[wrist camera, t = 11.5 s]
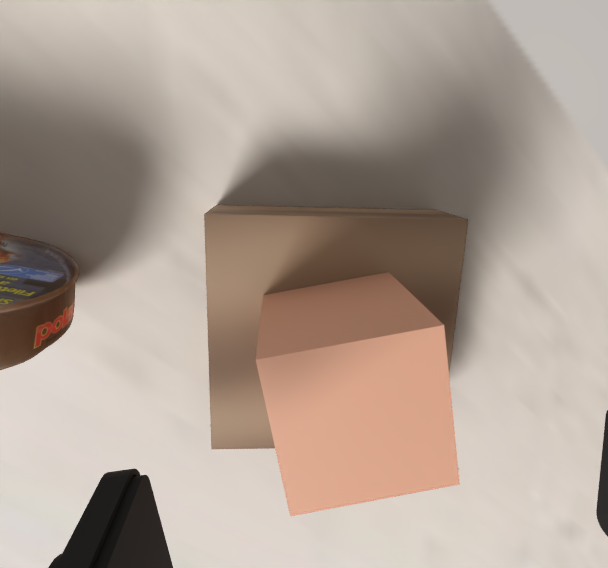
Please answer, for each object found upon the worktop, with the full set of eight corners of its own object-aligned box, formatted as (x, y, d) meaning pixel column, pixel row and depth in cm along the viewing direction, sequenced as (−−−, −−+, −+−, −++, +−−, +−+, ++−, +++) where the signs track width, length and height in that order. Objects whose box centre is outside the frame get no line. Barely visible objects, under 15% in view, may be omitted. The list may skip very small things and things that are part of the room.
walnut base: (217, 204, 20) (204, 214, 16) (432, 208, 21) (468, 219, 17) (222, 400, 23) (211, 448, 19) (412, 399, 24) (439, 445, 20)
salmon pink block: (263, 295, 17) (255, 360, 12) (388, 272, 17) (444, 325, 12) (286, 407, 19) (290, 516, 13) (403, 385, 19) (459, 484, 13)
